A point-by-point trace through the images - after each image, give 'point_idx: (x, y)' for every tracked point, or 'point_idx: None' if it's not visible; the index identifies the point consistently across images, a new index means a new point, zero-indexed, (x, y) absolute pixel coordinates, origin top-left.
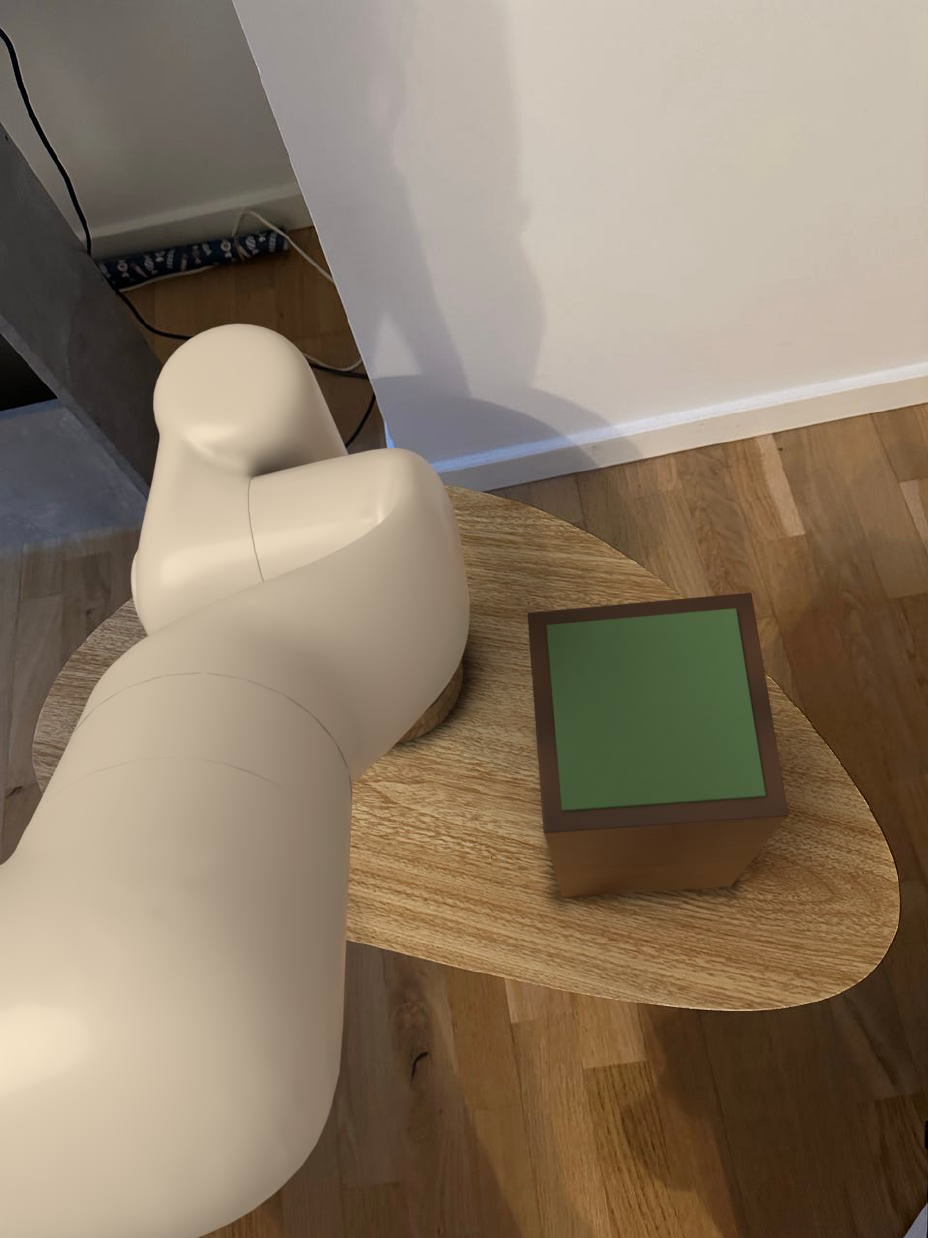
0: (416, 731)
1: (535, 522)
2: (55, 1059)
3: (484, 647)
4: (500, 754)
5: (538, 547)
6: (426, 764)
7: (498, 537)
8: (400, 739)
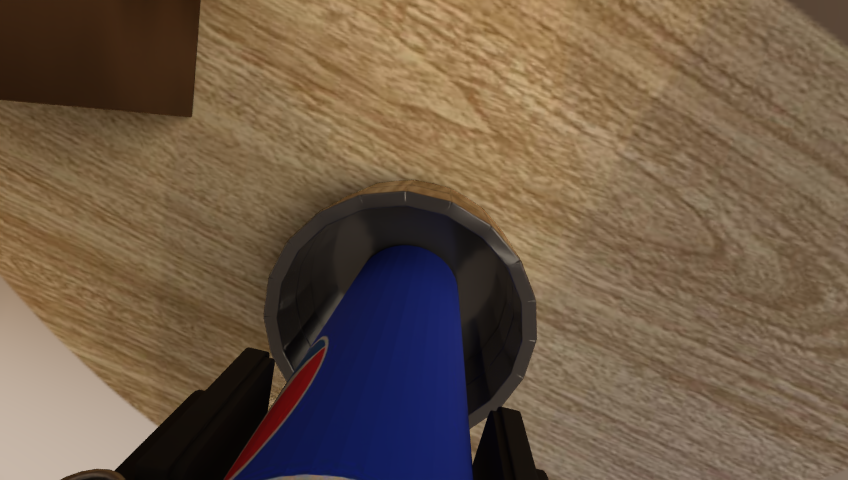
0: (386, 184)
1: None
2: None
3: (266, 285)
4: (273, 113)
5: (166, 396)
6: (392, 133)
7: None
8: (418, 182)
